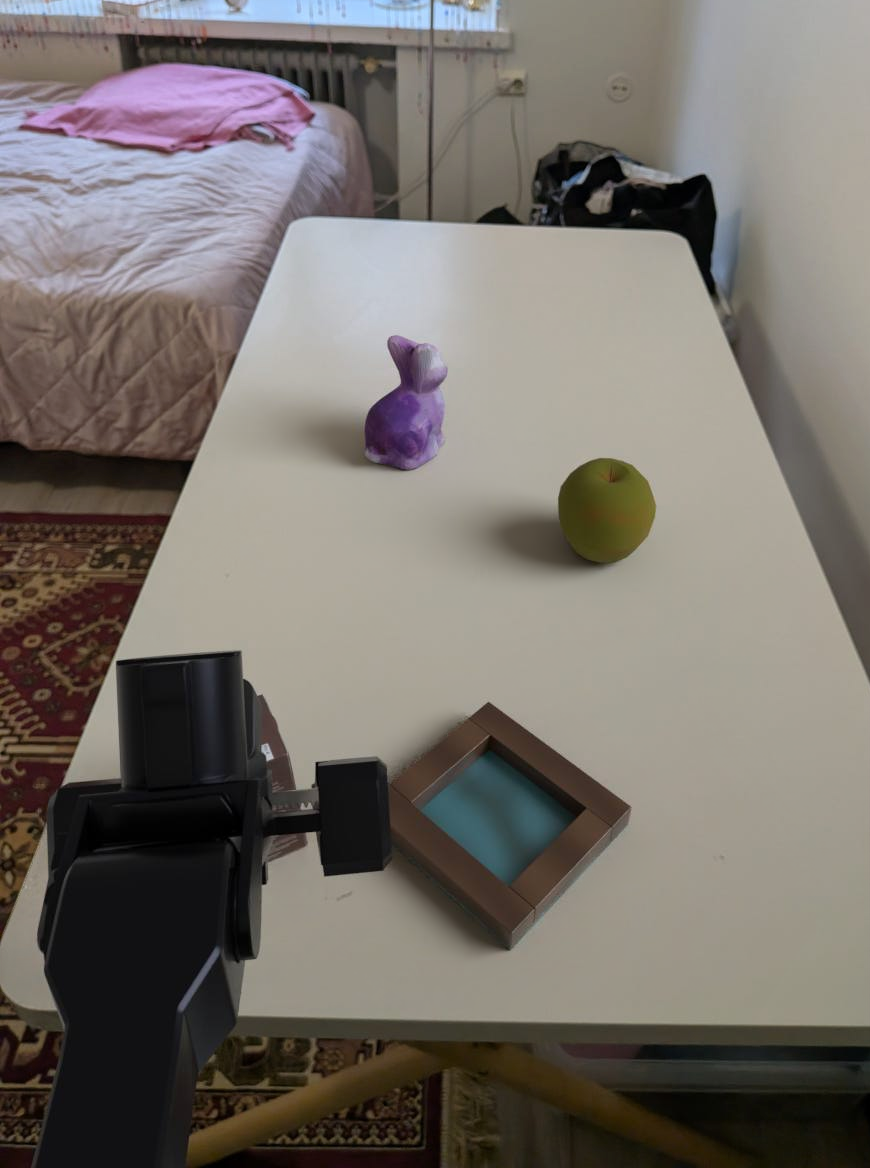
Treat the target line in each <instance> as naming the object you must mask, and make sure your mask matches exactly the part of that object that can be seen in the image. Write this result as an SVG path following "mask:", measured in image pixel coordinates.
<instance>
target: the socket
mask: <svg viewBox="0 0 870 1168" xmlns="http://www.w3.org/2000/svg"><path fill="white" fill-rule="evenodd" d="M388 794H389V810H390V827H391V844H392V845H393V847H395V848H396V849H397V850H398V851H399V852H400V853H401V854H402V855H403V856H405V857H406V858H407V859H408V860H409V861H410V862H411V863H413V864H414V865H415V866H416V867H417V868H418V869H419V870H420V871H421V872H422V873H424V874H425V875H426V876H427V877H428V878H429V879H430V880H431V881H432V882H434V883H435V884H436V885H437V886H438V887H439V888H440V889H441V890H442V891H443V892H445V893H446V894H447V895H448V896H449V897H450V898H451V899H453V901H455V902H456V903H457V904H458V905H459V906H460V907H461V908H463V909H464V910H465V911H466V913H468V914H469V915H470V916H471V917H472V918H474V920H475V921H476V922H478V923H479V924H480V925H481V926H482V927H483V928H484V929H486V930H487V931H488V932H489V933H490V934H491V935H492V936H493V937H494V938H495V939H497V940H498V941H499V942H500V943H501V944H502V945H503V946H504V947H505V948H507V950H509V951H511V950H513V949H514V948H515V946H516V945H517V944H518V943H519V942H520V941H521V940H522V939H523V938H524V937H525V936H526V934H528V933H529V931H530V930H531V929H532V928H534V926H535V925H536V924H537V923H538V922H539V921H540V920H541V919H542V918H543V916H544V915H545V914H547V912H548V911H549V910H550V909H551V908H552V907H553V905H554V904H555V903H556V902H557V901H558V900H559V899H560V898H561V897H562V896H563V895H564V894H565V893H566V891H568V890H569V888H570V887H571V886H573V885H574V883H575V882H576V881H577V880H578V879H579V878H580V877H581V876H582V874H584V873H585V871H586V870H587V869H588V868H589V867H590V866H591V865H592V864H593V863H594V862H595V860H597V859H598V858H599V857H600V855H601V854H602V853H604V851H605V850H606V849H607V848H608V847H609V846H610V845H611V844H612V843H613V841H615V839H616V838H617V837H618V836H619V835H620V834H621V833H622V832H623V831H624V830H625V829H626V827H627V826H628V825H629V821H630V817H631V812H632V806H631V805H630V804H628V803H627V802H626V801H624V800H623V798H620V797H619V796H617V795H616V794H615V793H614V792H612V791H611V790H609V788H607V787H605V786H604V785H603V784H601V783H600V782H599V781H597V780H596V779H595V778H593V777H592V776H590V775H589V774H587V772H585V771H584V770H582V769H581V768H580V767H579V766H577V765H576V764H574V762H573V763H572V762H571V761H570V760H569V759H567V758H566V757H564V756H563V755H562V754H560V753H559V752H558V751H557V750H556V749H554V748H553V747H551V746H550V745H549V744H547V743H546V742H544V741H543V740H541V739H540V738H539V737H538V736H536V735H535V734H533V733H532V732H531V731H529V730H528V729H526V728H525V727H524V726H523V725H521V724H520V723H519V722H517V721H516V720H515V719H513V718H512V717H510V716H509V715H507V713H505V712H504V711H502V710H501V709H499V708H498V707H497V706H496V705H494V704H493V703H491V702H490V701H487V702H486V703H485V704H484V705H482V706H481V707H480V708H479V709H477V710H476V711H475V712H474V713H473V714H471V716H469V717H468V718H467V719H465V720H464V721H463V722H462V723H461V724H460V725H458V726H457V727H456V728H455V729H453V730H452V731H451V732H450V733H448V735H447V736H445V737H444V738H443V739H441V740H440V741H439V742H438V743H436V745H434V746H433V747H432V748H431V749H429V750H428V751H427V752H426V753H424V754H423V756H421V757H419V758H418V760H416V761H415V762H414V763H413V764H411V765H410V766H409V767H408V768H406V769H405V770H404V771H403V772H402V773H400V774H399V775H398V776H397V777H396V778H394V779H393V780H392V781H391V782H390V783H388Z"/></svg>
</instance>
